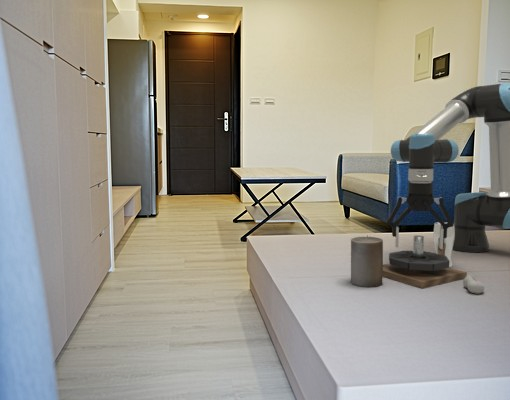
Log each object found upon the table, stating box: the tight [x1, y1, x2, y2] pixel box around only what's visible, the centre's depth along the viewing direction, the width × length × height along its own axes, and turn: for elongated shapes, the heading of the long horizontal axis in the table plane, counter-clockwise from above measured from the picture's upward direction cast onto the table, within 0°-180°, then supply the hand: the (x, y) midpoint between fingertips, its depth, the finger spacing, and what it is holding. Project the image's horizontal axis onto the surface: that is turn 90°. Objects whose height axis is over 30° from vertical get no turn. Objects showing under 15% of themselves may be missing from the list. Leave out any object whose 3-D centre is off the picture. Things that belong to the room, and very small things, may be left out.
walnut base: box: [382, 263, 468, 289], centre depth 154 cm, size 21×21×2 cm
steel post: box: [412, 234, 425, 271], centre depth 154 cm, size 4×4×11 cm
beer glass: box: [433, 221, 455, 268], centre depth 166 cm, size 7×7×15 cm
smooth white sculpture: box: [462, 274, 485, 295], centre depth 138 cm, size 4×8×5 cm
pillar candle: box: [350, 234, 384, 288], centre depth 146 cm, size 10×10×15 cm
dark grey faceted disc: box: [388, 250, 450, 271], centre depth 154 cm, size 18×18×2 cm
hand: (418, 247), depth 153 cm, fingers open, 13 cm apart
